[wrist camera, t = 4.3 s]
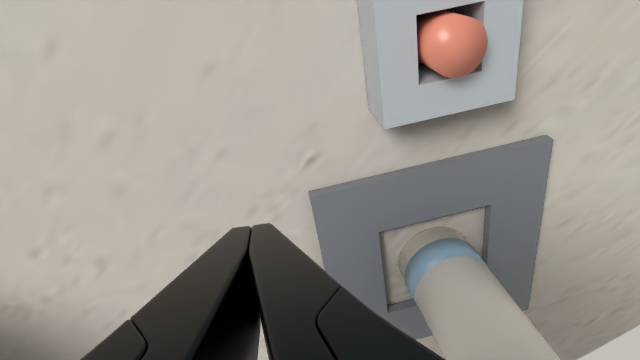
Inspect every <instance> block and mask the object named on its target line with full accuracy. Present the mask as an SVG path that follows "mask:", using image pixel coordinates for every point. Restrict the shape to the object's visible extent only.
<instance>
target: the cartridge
mask: <svg viewBox="0 0 640 360" xmlns="http://www.w3.org/2000/svg"><path fill="white" fill-rule="evenodd" d="M398 265H399V269H400V272H401V274H402V275H403V277H404V279H405V283H406V285H407V287H408V289H409V291H410V293H411V295H412V297H413V299H414V301H415V303H416V304H417V306H418V307H419V309H420V311H421V313H422V315H423V316H424V318H425V320H426V322H427V324H428V326H429V328H430V330H431V332H432V334H433V336H434V338H435V340H436V342H437V344H438V346H439V348H440V350H441V352H442V354H443V356H444V357H445V359H446V360H561V359H560V358H559V357H558V355H557V354H556V353H555V352H554V350H553V349H552V348H551V347H550V345H549V344H548V343H547V342H546V340H545V339H544V338H543V337H542V335H541V334H540V333H539V332H538V330H537V329H536V328H535V326H534V325H533V324H532V323H531V321H530V320H529V319H528V318H527V316H526V315H525V314H524V313H523V311H522V310H521V309H520V308H519V306H518V305H517V304H516V303H515V301H514V300H513V299H512V298H511V296H510V295H509V294H508V293H507V291H506V290H505V289H504V287H503V286H502V285H501V284H500V282H499V281H498V280H497V279H496V277H495V276H494V275H493V274H492V272H491V271H490V270H489V269H488V266H487V265H486V263H485V262H484V261H483V260H482V258H481V257H480V256H479V255H478V253H477V252H476V251H475V250H474V248H473V247H472V246H471V245H470V244H469V243H468V242H467V241H466V240H465V238H464V237H463V236H462V235H461V234H460V233H459V232H458V231H457V230H455V229H452V228H448V227H435V228H430V229H427V230H425V231H422V232H420V233H419V234H417V235H416V236H414V237H413V238H412V239H410V240H409V241H408V242H407V244H406V245H405V246H404V248H403V249H402V251H401V253H400V256H399V261H398Z"/></svg>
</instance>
